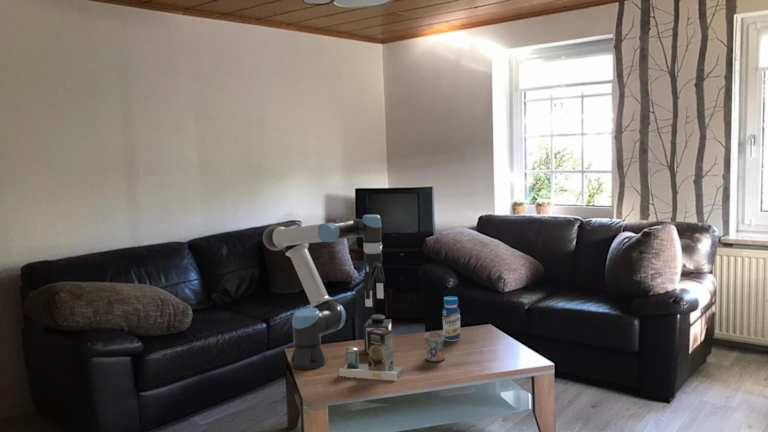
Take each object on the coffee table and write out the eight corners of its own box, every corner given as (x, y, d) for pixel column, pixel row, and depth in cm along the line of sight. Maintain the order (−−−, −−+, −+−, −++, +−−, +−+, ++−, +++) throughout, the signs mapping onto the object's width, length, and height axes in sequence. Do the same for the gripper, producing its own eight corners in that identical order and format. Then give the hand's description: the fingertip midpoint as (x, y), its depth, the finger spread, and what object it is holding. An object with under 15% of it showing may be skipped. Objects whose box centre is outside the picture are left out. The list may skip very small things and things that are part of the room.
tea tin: (345, 369, 250) (344, 350, 249) (349, 365, 255) (348, 346, 254) (356, 370, 249) (355, 351, 248) (361, 365, 254) (360, 347, 253)
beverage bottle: (459, 335, 295) (458, 295, 293) (462, 341, 287) (460, 299, 285) (442, 336, 295) (440, 296, 293) (444, 342, 287) (442, 300, 285)
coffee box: (367, 369, 249) (365, 330, 248) (377, 364, 254) (375, 326, 253) (385, 373, 244) (384, 334, 242) (395, 368, 249) (393, 329, 247)
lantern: (393, 347, 283) (390, 287, 280) (389, 355, 272) (386, 293, 269) (369, 347, 284) (366, 288, 282) (364, 355, 273) (361, 293, 271)
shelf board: (339, 376, 248) (339, 368, 248) (348, 368, 258) (347, 360, 257) (396, 380, 241) (395, 373, 240) (402, 371, 250) (402, 364, 250)
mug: (448, 362, 260) (447, 337, 258) (426, 363, 259) (425, 339, 257) (442, 353, 271) (441, 329, 270) (421, 354, 270) (420, 331, 269)
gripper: (370, 257, 240) (372, 310, 243) (391, 247, 264) (392, 295, 266) (353, 257, 243) (355, 309, 245) (374, 246, 266) (376, 294, 269)
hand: (374, 302), depth 256 cm, fingers open, 13 cm apart
